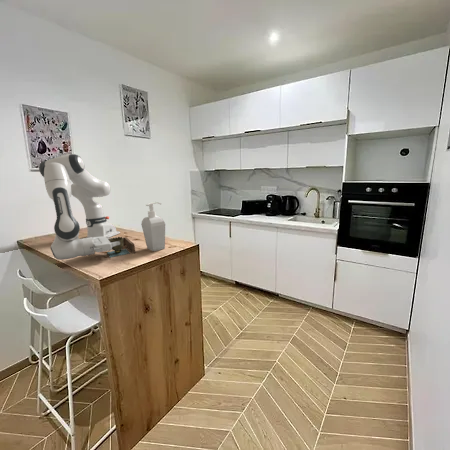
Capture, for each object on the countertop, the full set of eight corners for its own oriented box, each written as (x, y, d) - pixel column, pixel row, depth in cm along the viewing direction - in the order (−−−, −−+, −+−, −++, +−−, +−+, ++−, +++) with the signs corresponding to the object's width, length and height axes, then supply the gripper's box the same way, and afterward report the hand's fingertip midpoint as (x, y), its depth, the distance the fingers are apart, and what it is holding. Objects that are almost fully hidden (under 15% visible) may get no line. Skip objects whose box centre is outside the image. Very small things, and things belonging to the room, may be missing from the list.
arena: (104, 259, 130) (102, 250, 129) (98, 250, 146) (97, 242, 145) (135, 252, 138) (134, 243, 137) (127, 245, 154) (126, 237, 153)
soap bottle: (170, 248, 143) (166, 202, 138) (154, 252, 137) (148, 204, 131) (160, 244, 152) (155, 201, 147) (144, 248, 146) (138, 203, 140)
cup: (108, 253, 139) (106, 238, 137) (121, 249, 144) (119, 235, 142) (114, 255, 134) (111, 240, 132) (127, 251, 139) (125, 237, 137)
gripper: (90, 244, 121) (121, 238, 128) (86, 236, 138) (113, 232, 145) (92, 257, 123) (122, 250, 130) (88, 247, 140) (115, 242, 147)
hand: (118, 240), depth 138 cm, fingers open, 8 cm apart
